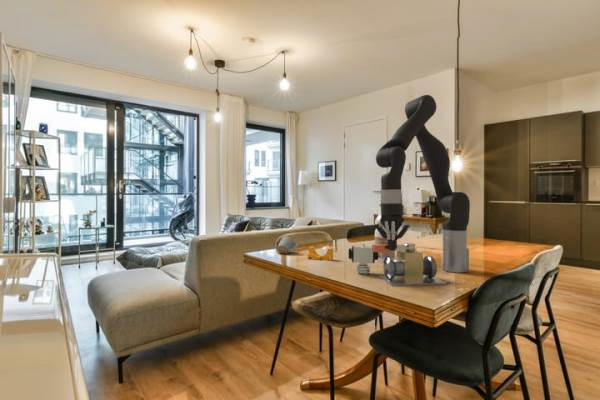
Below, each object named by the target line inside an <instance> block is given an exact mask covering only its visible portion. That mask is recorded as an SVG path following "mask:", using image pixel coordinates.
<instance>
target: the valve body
mask: <svg viewBox="0 0 600 400" xmlns="http://www.w3.org/2000/svg"><path fill="white" fill-rule="evenodd" d="M382 264H383V266H382V267H383V273H384V275H378V278H380V279H381V280H383V281H385V283H387V284H389V285H390V286H392V287H404V286H406V287H408V286H410V287H411V286H433V285H434V286H437V285H438V286H441V285H442V286H443V285H448V284H447V282H446V281H444V280H442V279H440V278H437V277H436V275H437V269H438V267H437V263H436V259H435V258H434V257H433V256H431V255H426V256H424V253H423V252H421V251H419V250H416V249H415V251H396V259H395V260H393V259H392V258H391V257H386V258H385V259H384V263H382Z"/></svg>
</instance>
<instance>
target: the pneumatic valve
mask: <svg viewBox="0 0 600 400" xmlns="http://www.w3.org/2000/svg"><path fill="white" fill-rule="evenodd" d="M348 260H350V261H351V262H352V263H357V265H356V272H357V273H358V274H359V275H368V274H369V273H370V272H371V269H370V268H371V267H370V265H368V264H375V262H376V261H375V260H378V252H373V251H372V245H365V243H361V245H352V246H351V248H348ZM358 263H359V264H358Z"/></svg>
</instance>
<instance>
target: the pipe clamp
mask: <svg viewBox="0 0 600 400" xmlns="http://www.w3.org/2000/svg"><path fill="white" fill-rule="evenodd" d="M306 257H307V260H312V259H313V260H314V261H320V260H321V261H334V247H328V248H327V251H326V253H325V254H323V255H321V254H319V253H318V252H317V251H316V249H315V246H308V253H307V254H306Z"/></svg>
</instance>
